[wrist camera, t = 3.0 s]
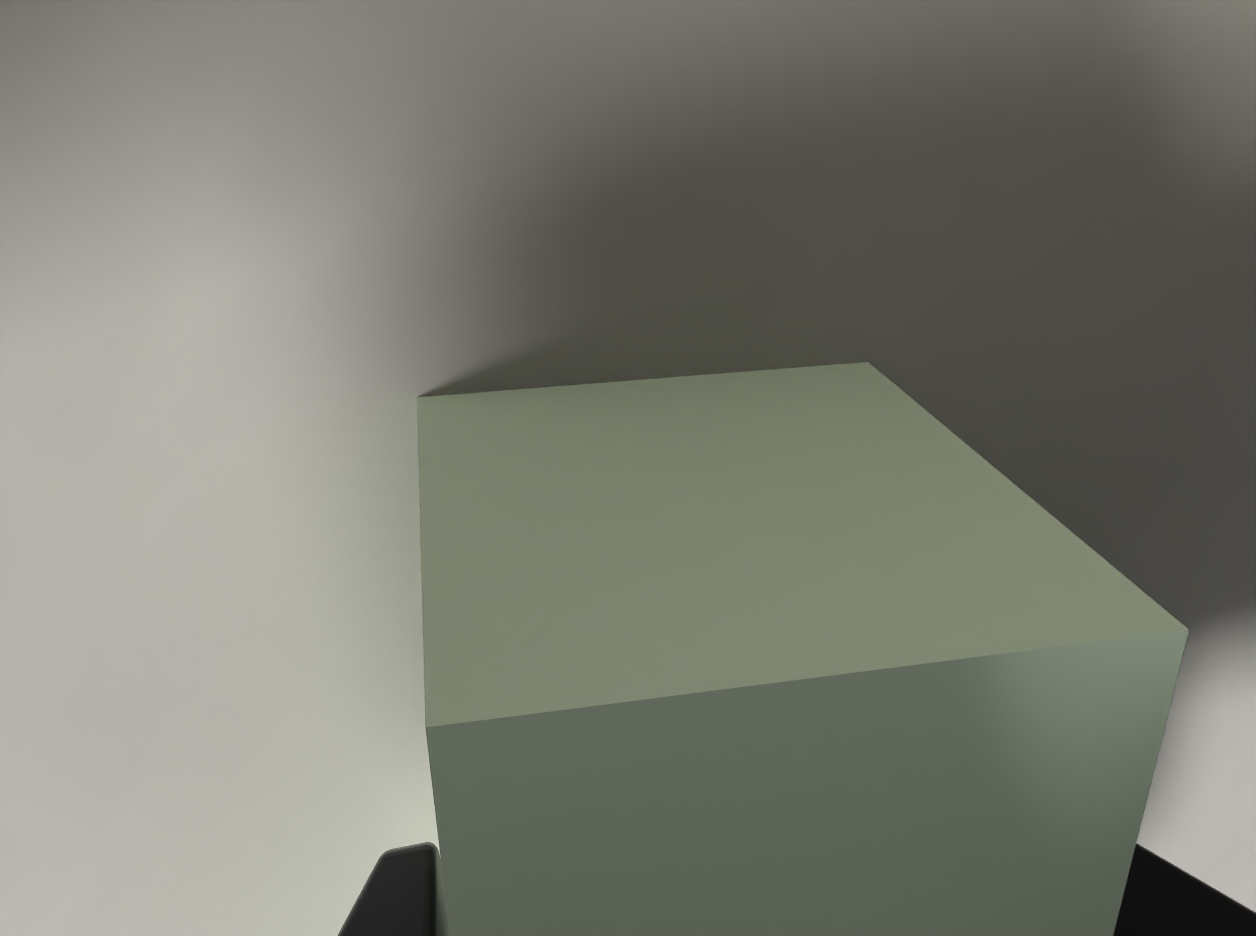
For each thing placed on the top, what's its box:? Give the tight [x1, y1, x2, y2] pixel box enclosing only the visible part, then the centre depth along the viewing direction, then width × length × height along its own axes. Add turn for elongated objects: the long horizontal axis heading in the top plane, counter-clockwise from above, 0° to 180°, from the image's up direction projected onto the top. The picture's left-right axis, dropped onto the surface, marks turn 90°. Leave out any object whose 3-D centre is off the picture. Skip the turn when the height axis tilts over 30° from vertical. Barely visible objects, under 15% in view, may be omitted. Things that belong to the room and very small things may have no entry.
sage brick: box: [417, 362, 1189, 936], centre depth 8 cm, size 7×4×4 cm, turn 1°
